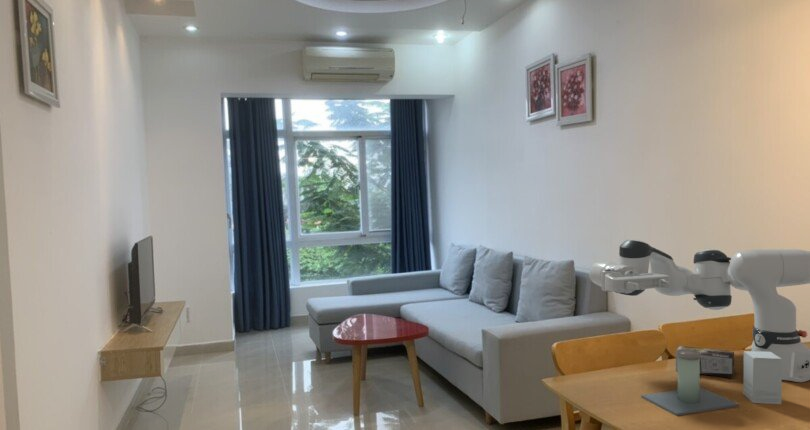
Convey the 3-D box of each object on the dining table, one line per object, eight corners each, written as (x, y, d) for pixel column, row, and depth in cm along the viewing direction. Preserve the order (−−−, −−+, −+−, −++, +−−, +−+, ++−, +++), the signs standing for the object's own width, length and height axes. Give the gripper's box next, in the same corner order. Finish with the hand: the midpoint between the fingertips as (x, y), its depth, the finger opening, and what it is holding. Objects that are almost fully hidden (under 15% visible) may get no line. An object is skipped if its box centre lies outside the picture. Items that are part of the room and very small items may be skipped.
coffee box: (675, 371, 189) (732, 379, 180) (675, 351, 188) (732, 358, 180) (679, 364, 196) (734, 371, 187) (679, 345, 196) (734, 351, 187)
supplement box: (782, 404, 159) (782, 358, 158) (752, 403, 161) (752, 357, 160) (771, 395, 166) (771, 351, 166) (742, 394, 168) (742, 350, 167)
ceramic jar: (689, 394, 167) (689, 348, 166) (705, 401, 161) (705, 354, 160) (671, 396, 165) (671, 350, 164) (687, 404, 159) (687, 356, 159)
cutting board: (699, 389, 172) (699, 387, 172) (738, 406, 159) (738, 403, 159) (641, 397, 167) (641, 395, 167) (676, 415, 153) (676, 413, 153)
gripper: (652, 286, 191) (683, 294, 178) (597, 291, 186) (624, 299, 172) (652, 267, 191) (683, 273, 177) (597, 271, 185) (624, 277, 172)
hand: (654, 286), depth 175 cm, fingers open, 8 cm apart
